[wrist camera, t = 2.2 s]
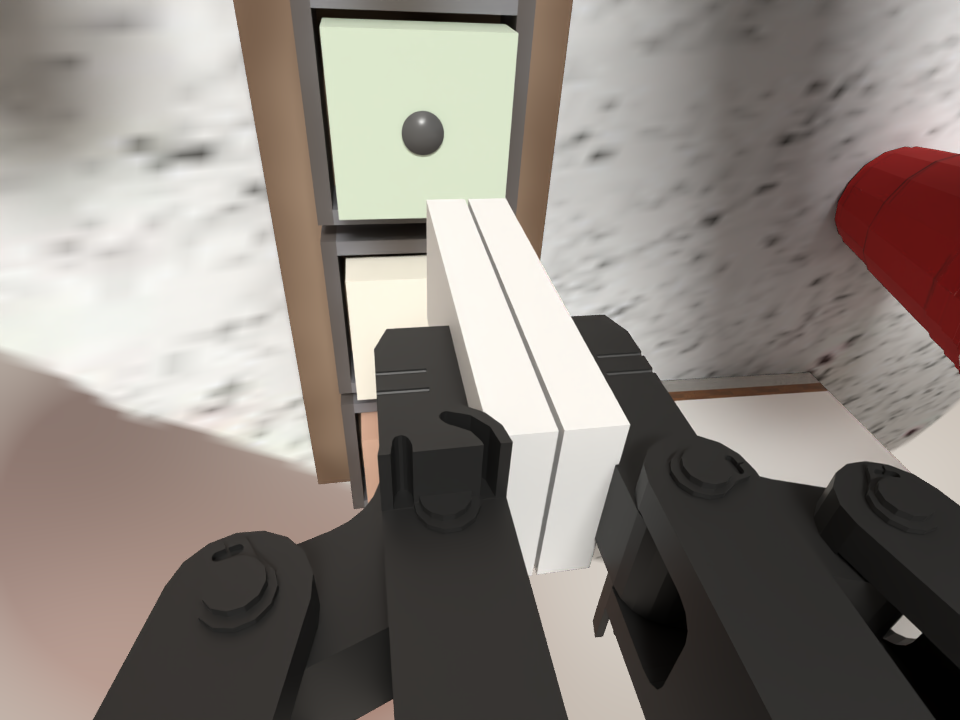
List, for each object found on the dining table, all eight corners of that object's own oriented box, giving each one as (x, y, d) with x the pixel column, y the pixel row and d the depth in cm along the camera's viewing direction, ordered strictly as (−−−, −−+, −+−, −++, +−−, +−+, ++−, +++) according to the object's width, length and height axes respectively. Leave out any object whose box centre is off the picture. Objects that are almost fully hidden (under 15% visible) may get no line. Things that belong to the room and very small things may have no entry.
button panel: (553, -36, 23) (601, -25, 19) (504, 431, 39) (523, 497, 34) (238, -53, 21) (209, -44, 17) (320, 448, 37) (316, 519, 32)
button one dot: (504, 24, 19) (519, 33, 18) (493, 196, 23) (504, 217, 21) (321, 17, 18) (319, 27, 17) (340, 198, 22) (339, 221, 20)
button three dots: (489, 252, 25) (499, 276, 23) (482, 363, 28) (490, 391, 27) (345, 257, 24) (345, 283, 22) (357, 372, 27) (357, 401, 26)
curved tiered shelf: (624, 486, 45) (1050, 1374, 18) (660, 380, 38) (1414, 1514, 11) (755, 474, 47) (1317, 1250, 20) (809, 372, 41) (1753, 1309, 13)
